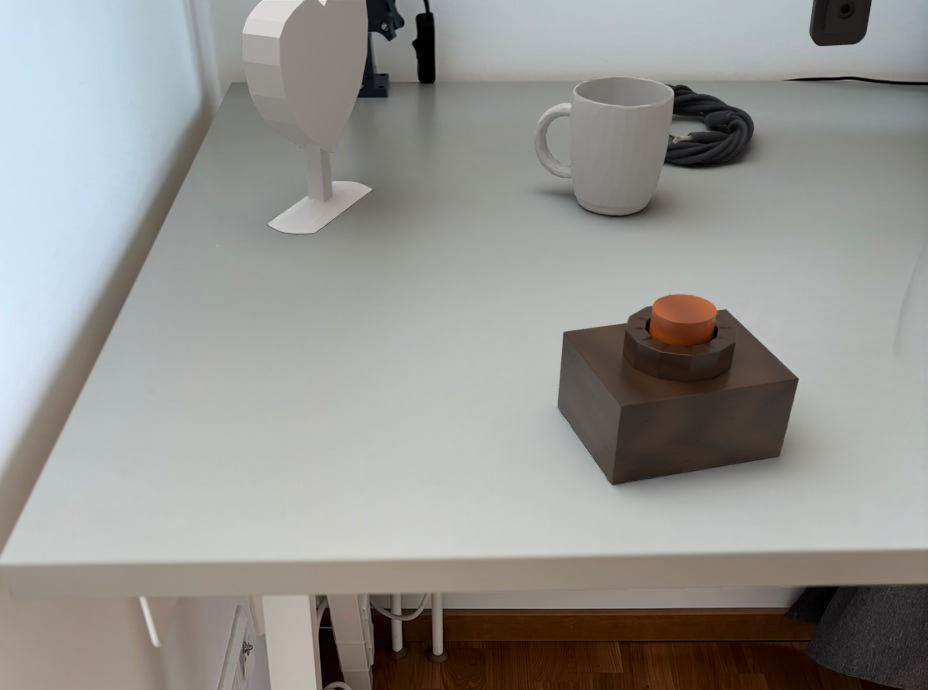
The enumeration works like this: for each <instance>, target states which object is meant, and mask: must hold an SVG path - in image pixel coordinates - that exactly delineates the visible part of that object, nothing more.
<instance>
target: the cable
mask: <svg viewBox="0 0 928 690" xmlns="http://www.w3.org/2000/svg"><path fill="white" fill-rule="evenodd" d="M664 84H665V85H667V86H669V87H671V88H672V90H673V91H674V102H673V115H674V116H681V117H686V118H687V117H689V118H701V119H702V120H703V121H704V124H706V125H707V126H708V127H710V128H711V127H712V128H713V127H720V126H726V127H727V132H728V133H723V132H722V131H717V130H711V131H704V130H703V131H692V132H691V131H690V132H689V133H688V134H687V135H676V136H674V135H672V134H669V140H668V145H667V151H666V156H665V159H664V160H666V161H667V162H669V163H672V164H677V165H691V164H695V163H699V162H700V163H705V164H720V163H725V162H728V161H729V160H732V159H733V158H735V157H736V156H737V155H738V154H740V153H741V152H742V151H743V149H744V148H746V146H748V144H749V143H750V142H751V140H752V138H753V136H754V132H755V123H754V120H753V119H752V116H750V114H749V113H748V112H747V111H745V110H743V109H741V108H739V107H735V106H732V105H729V104H727V103H725V102H724V101H723V100H722V99H721V98H718V97H716V96H714V95H711V94H705V93H698V92H695V91H694V90H693V89H692V88H690V87H689V86H687V85H685V84H677V85H676V84H675V85H672V84H669V83H664ZM673 115H672V116H673Z"/></svg>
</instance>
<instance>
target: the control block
mask: <svg viewBox="0 0 928 690" xmlns="http://www.w3.org/2000/svg"><path fill="white" fill-rule="evenodd" d="M652 306H653V305H649V306H645V307H643V308H641V309H639V310H637V311H636V312H634V313H632V314H631V315H629V316H628V319H627V322H623V323H617V324H610V325H609V324H608V325H601V326H595V327H588V328H587V327H586V328H580V329H573V330H566V331H563V333H562V345H561V358H560V369H559V380H558V381H559V383H558V396H557V408H558V409H559V411H560V412H561V414H562V415H563V416H564V418H565V419H566V421H567V422H568V424H569V425H570V426H571V428H572V429H573V431H574V432H575V434H576V435H577V436H578V438H579V439H580V441H581V442H582V443H583V445H584V446H585V448H586V449H587V451H588V452H589V454H590V455H591V456H592V458H593V459H594V461H595V462H596V463H597V465H598V467H599V468H600V469H601V471H602V472H603V474H604V475H605V477H606V478H607V479H608V481H609V482H610V484H611V485H617V484H622V483H623V484H624V483H627V482H635V481H639V480H645V479H651V478H657V477H663V476H669V475H674V474H682V473H687V472H692V471H697V470H698V471H699V470H704V469H710V468H715V467H723V466H727V465H735V464H740V463H744V462H745V463H746V462H752V461H757V460H763V459H768V458H774V457H779V456H781V453H782V450H783V447H784V442H785V439H786V434H787V429H788V427H789V426H788V425H789V423H790V422H789V421H790V418H791V414H792V409H793V405H794V401H795V397H796V393H797V388H798V384H799V381H800V378H799V377H798V376H797V375H796V374H794V372H793V371H792V370H791V369H789V368H788V367H787V366H786V365H785V364H784V362H783V361H781V360H780V359H779V358H778V357H777V356H776V355H775V354H774V353H773V352H772V351H771V350H770V349H768V348H767V347H766V345H765V344H763V343H762V341H760V340H759V339H758V337H756V336H755V335H754V334H753V333H752V332H751V331H750V330H749V329H748V328H747V327H746V326H744V324H742V323H741V322H740V320H738V319H737V318H736V317H735V316H734V315H733V314H732V313H731V312H730V311H729V310H727V308H724V309H717V315H716V321H715V327H714V332H713V337H712V340H711V341H710V342H708V343H707V344H700V345H693V346H682V345H673V344H667V343H665V342H662V341H660V340H657V339H655V338H652V337H651V335H650V333H649V328H650V321H651V314H652Z"/></svg>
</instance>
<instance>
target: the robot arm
mask: <svg viewBox="0 0 928 690" xmlns="http://www.w3.org/2000/svg"><path fill="white" fill-rule="evenodd" d="M872 2H873V0H812V6H811V14H810V20H809V21H810V22H809V30H808V32H809V33H808V34H809V37H810V38H811V40H812V42H813V43H814V44H815V45H816V46H818V47H832V46H833V47H837V46H851V45H857V44H859V43H860V42H862V41H863V39H864V38H865V37H866V35H867V31H868V27H869V21H870V14H871V9H872Z"/></svg>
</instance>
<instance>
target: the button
mask: <svg viewBox="0 0 928 690" xmlns="http://www.w3.org/2000/svg"><path fill="white" fill-rule="evenodd" d="M651 306H652V314H651V321H650V328H649V333H650V335H651V337H652V338H655V339H657V340H660V341H662V342H665V343H667V344H673V345H682V346H693V345H700V344H707V343H708V342H710V341H711V340H712V337H713V332H714V327H715V321H716V315H717V310H718V309H717V307H716V305H715V304H714V303H713V302H711V301H709V300H708V299H706V298H703V297H701V296H698V295H692V294H685V293H682V294H681V293H675V294H674V293H673V294H668V295H664V296H661V297H659V298H657V299H656V300H655V301H654V302H653V304H652V305H651Z"/></svg>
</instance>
